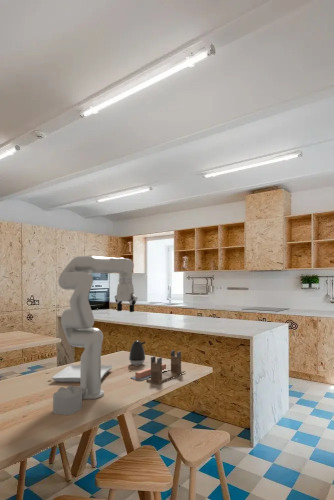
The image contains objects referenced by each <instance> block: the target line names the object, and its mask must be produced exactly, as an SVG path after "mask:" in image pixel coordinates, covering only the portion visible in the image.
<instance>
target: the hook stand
mask: <svg viewBox="0 0 334 500" xmlns="http://www.w3.org/2000/svg"><path fill="white" fill-rule="evenodd" d="M162 359H163V357H158V358H157V357H156V356H155V355H154V356H153V355H152V356H150V367H151V378H148V379H146V382H147V383H150V382H151V384H154V383H156V385H160V384H163V383H165V382H167V380H168V381H170V380H172V379H171V378H173V377H175V378H177V377H179V376H178V375H180V374H182V373H184V372H185V373H186V371H185V370H182V351H175V350H171V351H170V369H171V370H169V371H167V372H164V373H162V363H163V360H162ZM182 375H183V374H182ZM176 376H177V377H176ZM180 376H181V375H180ZM169 379H170V380H169ZM173 379H174V378H173ZM164 381H165V382H164ZM162 382H163V383H162Z"/></svg>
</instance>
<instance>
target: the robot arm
mask: <svg viewBox="0 0 334 500" xmlns="http://www.w3.org/2000/svg"><path fill="white" fill-rule="evenodd" d="M134 266H135V265H134V262H133V260H132V259H130V258H124V257H109V256H108V257H107V256H97V255H81V256H79V255H77V256H75V257H74V258H73V259H72V260H71V261H69V263H68V264H67V265H66V267H64V269H63V270H62V272H61V273H60V274H59V277H58V280H57V282H58V286H59V287H60V288H61V289H63V290H66V291H67V290H68V291H71V290H74V291H73V293H72V294H71V296H70V299H69V307H70V308H66V309H64V311H63V312H62V314H61V317H60V323H61V328H62V329H63V333H64V336H65V338H66V340H67V342H68V344H69V345H70V346H72V347H76V348H84V350H83V352H82V353H81V356H80V365H81V369H80V382H79V387H80V388H81V389H82V400H96V399H100V398H102V397H103V396H104V394H105V391H104V390H103V389H102V388H101V387H102V386H101V384H102V383H101V382H102V381H101V380H102V378H101V365H102V364H101V363H102V348H103V347H102V346H103V341H104V333H103V331H102V330H101V329H99V328H97V327H93V326H94V324H95V317H94V314H93V310H92V308H91V305H90V301H89V295H90V292H91V289H92V287H93V283H94V276H93V275H92V274H114V273H115V274H117V273H118V285H117V288H116V289H117V290H116V295H114V299H115V303H116V306H117V312H121V311H122V312H123V304H122V303H123V302H128V303H129V313H134V312H135V305H136V303H137V300H138V296H136V295H135V291H134V284H133V269H134Z"/></svg>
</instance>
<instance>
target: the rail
mask: <svg viewBox="0 0 334 500" xmlns="http://www.w3.org/2000/svg"><path fill="white" fill-rule="evenodd" d="M166 368H167V364H166V363H163V362H162V370H164V369H166ZM149 375H151V366H150V367H146V368H145V369H142V370H138V371H136V372H135V375H134V376H135V378H138V379H141V378H143V377H146V376H149Z"/></svg>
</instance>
